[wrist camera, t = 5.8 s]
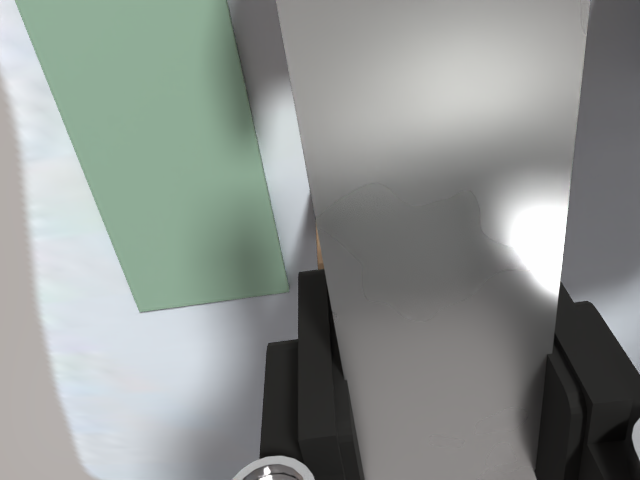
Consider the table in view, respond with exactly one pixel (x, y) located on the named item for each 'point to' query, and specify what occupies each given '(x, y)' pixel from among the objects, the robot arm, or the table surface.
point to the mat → (164, 143)
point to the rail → (440, 215)
